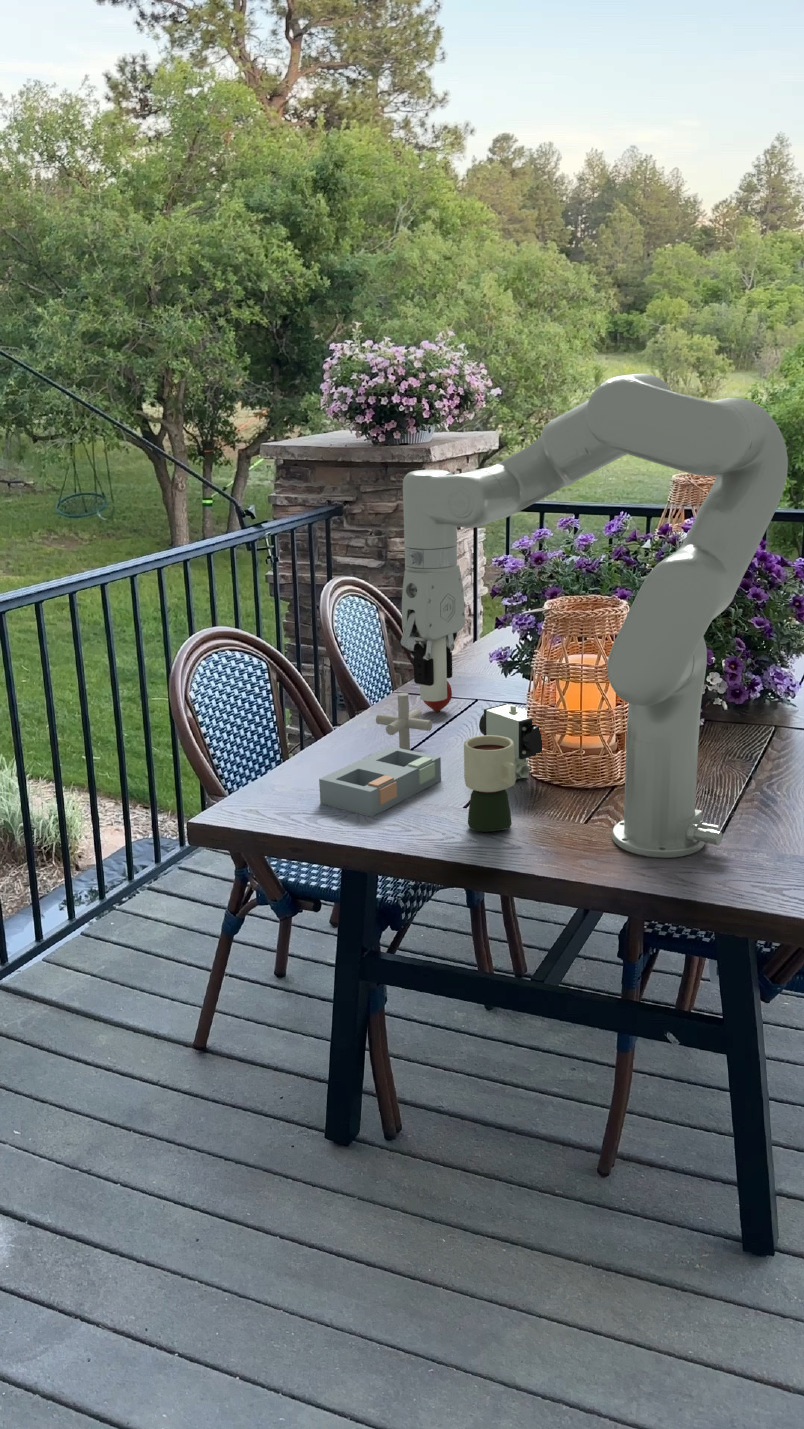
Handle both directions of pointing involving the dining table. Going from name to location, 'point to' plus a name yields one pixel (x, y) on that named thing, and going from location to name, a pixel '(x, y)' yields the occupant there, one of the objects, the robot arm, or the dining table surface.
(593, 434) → the robot arm
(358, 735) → the dining table surface
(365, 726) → the dining table surface
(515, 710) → the pneumatic valve
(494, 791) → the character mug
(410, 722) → the pipe connector
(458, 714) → the dining table surface
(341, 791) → the socket block
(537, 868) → the dining table surface
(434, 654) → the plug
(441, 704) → the onion
